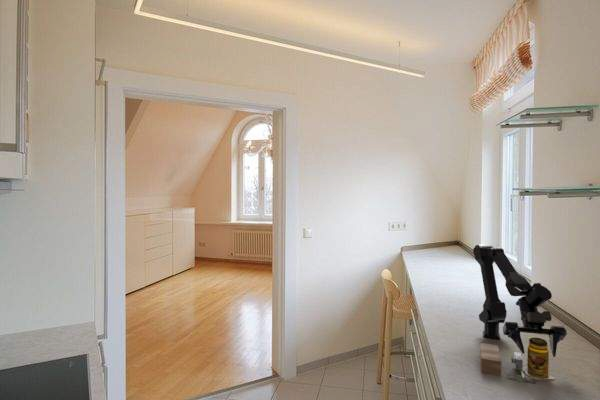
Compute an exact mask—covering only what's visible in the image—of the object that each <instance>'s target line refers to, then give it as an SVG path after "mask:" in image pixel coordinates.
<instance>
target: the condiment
mask: <svg viewBox="0 0 600 400" xmlns="http://www.w3.org/2000/svg"><path fill="white" fill-rule="evenodd" d="M528 342H529V343H528V346H527V356H526V357H527V364H526V365H527V366H523V367H522V372H523V373H524V372H525V374H526V375H527V376H528V377H530V378H534V379H535V380H556V378H555V377H553V375H551V374H549V362H550V361H549V360H550V359H549V357H550V356H549V354H550V353H549V352H550V350H549V349H548V342H547V340H546V339H543V338H541V337H530V338H529V339H528Z"/></svg>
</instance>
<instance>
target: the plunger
mask: <svg viewBox="0 0 600 400" xmlns="http://www.w3.org/2000/svg"><path fill="white" fill-rule="evenodd" d="M510 361H511V362H510V363H511V364H514V368H515V369H514V370H516V371H520V375H521V376H522V378H523V379H524V371H523V370H522V367H524V365H523V357H522V354H521V352H517V351H513V357H512V356H510Z"/></svg>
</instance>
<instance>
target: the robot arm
mask: <svg viewBox="0 0 600 400" xmlns="http://www.w3.org/2000/svg"><path fill="white" fill-rule="evenodd" d="M472 252H473V255H474V258H475V261H476V262H477V263H478V264H479V266H480V272H481V278H482V284H483V289H484V290H483V291H484V296H485V300H484V303H483V304H482V311H481V312H480V313H479V314H478V319H479V321H480V322H482V323H483V325H484V326H483V331H482V335H483V336H482V337H483V338H489V339H495V340H501V334H500V324H503V326H502V333H503V335H504V336H507V338H510V339H511V340H512V341H513V342H514V343H515V344H516V346H517V348H518V349H519V350H520V353H522V354H525V347H524V343H523V341H522V337H521V333H524V334H525V333H526V334H537V335H545V336H546V335H548V338H549V339H548V342H549V346H550V350H551V355H552V356H553V358H555V357H556V355H557V354H556V353H557V349H558V348H557V347H558V343H559V342H560V341H564V339H565V338H566V336H567V335H568V333H567V329H566V328H565V327H564V326H561V325H551V326H550V328H543V327H545V324H547V322H552V315H551V311H548V310H547V311H546V310H545V311H542V312H540V311H539V310H538V309H539V308H540V307H542V306H544V304H545V303H547V302H548V301H549V300H551V299H552V297H553V296H552V295H553V294H552V291H551V290H549V288H547V287H546V286H544V285H542V284H541V282H534V283H533V284H531V283H530V282H529V281H528V280H527V279H526V278H525V277H524V276H522V275H520V274H519V273H518V272H517V270H516V269H515V268H514V265H512V263H511V261H510V259H508V257H507V255H506V253H505V250H504V248H502V247H499V246H498V247H495V246H493V245H492V244H476V245H475V246H474V247H473V249H472ZM494 263H495V266H497V268H498V269H499V271H500V273H501V275H502V276H503V278H504V279H505V284H504V285H505V287H506V290H507V291H508V293H509V295H510V296H512V297H520V298H518V299H517V301H516V302H515V305H516V306H518V307H519V312H520V316H521V317H520V319H521V321H522V326H519V323H518V322H517V321H506V319H507V315H508V313H507V312H508V311H507V308H506V303H505V302H504V301H503V302H502V300H500V298H499V293H498V288H497V281H496V276H495V271H494Z"/></svg>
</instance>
